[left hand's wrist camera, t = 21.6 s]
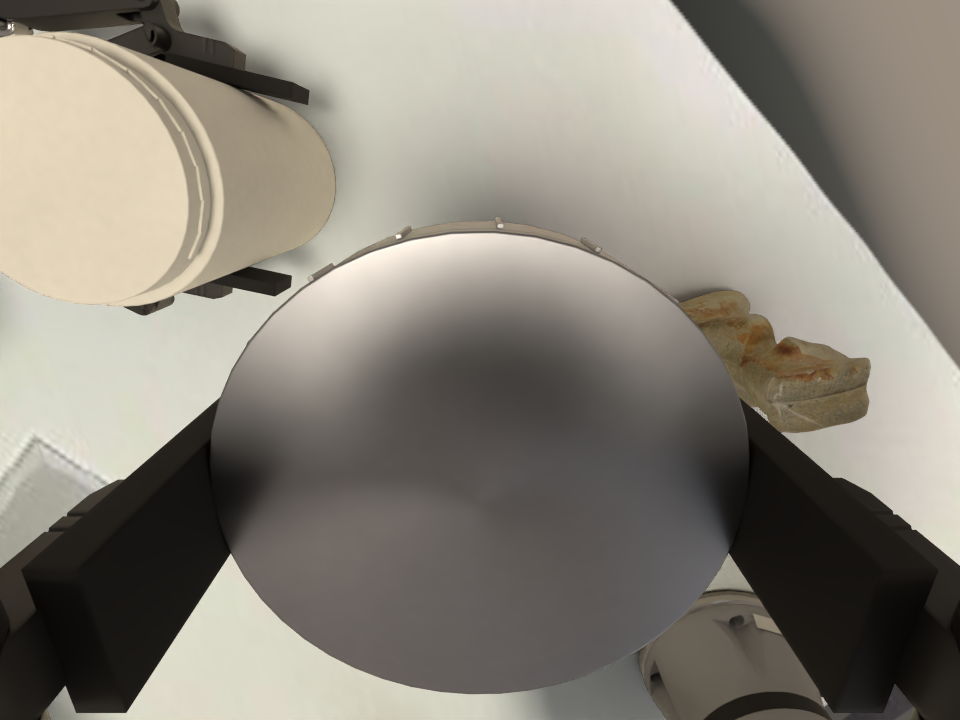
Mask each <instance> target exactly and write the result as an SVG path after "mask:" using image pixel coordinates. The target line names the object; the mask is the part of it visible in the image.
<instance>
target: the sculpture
mask: <svg viewBox="0 0 960 720" xmlns="http://www.w3.org/2000/svg"><path fill="white" fill-rule="evenodd" d="M678 305H679V306H680V307H681V308H682V309H683V310H684V311H685V312H686V313H687V314H688V316H689V317H690V318H691V319H692V320H693V321H694V322H695V323H696V324H697V325H698V326H699V327H700V328H701V330H702V331H703V332H704V333H705V335H706V336H707V338H708V339H709V341H710V342H711V344H712V345H713V347H714V348H715V350H716V351H717V352H718V354H719V355H720V357H721V358H722V360H723V362H724V364H725V366H726V368H727V370H728V372H729V375H730V377H731V379H732V381H733V383H734V385H735V387H736V389H737V392H738V395H739V397H740V398H741V399H742V400H743V401H744V402H746V403H747V404H748V405H749V406H750V407H759V408H760V409H761V410H762V411H763V412H764V413H765V414H766V415H767V416H768V420H769V422H770V424H771V425H772V426H773V427H774V428H776V429H777V430H778V431H779V432H780V433H782V432H790V433H800V432H809V431H814V430H818V429H822V428H826V427H831V426H835V425H841V424H846V423H851V422H854V421H856V420H858V419H860V418H862V417H864V416H865V415H866V414H867V410H868V406H869V398H868V395H867V391H866V385H867V381H868V378H869V374H870V368H871V365H870V361H869V359H868V358H848V357H847V356H845V355H843V354H841V353H840V352H838V351H836V350H834V349H832V348H831V347H829V346H827V345H822V344H815V343H809V342H806V341H802V340H799V339H796V338H792V337H786V338H784V339H783V340H782V341H781V342H780V343H779V344H777V343H776V341H775V337H774V333H773V329H772V326H771V324H770V323H769V321H768V320H767V319H766V318H765V317H763V316H761V315H758V314H749V311H750V304H749V301H748V299H747V298H746V297H745V296H744V295H743V294H742V293H740V292H737V291H729V290H727V291H717V292H713V293H709V294H705V295H702V296H699V297H696V298H693V299H690V300H687V301H684V302H681V303H679V304H678Z"/></svg>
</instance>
